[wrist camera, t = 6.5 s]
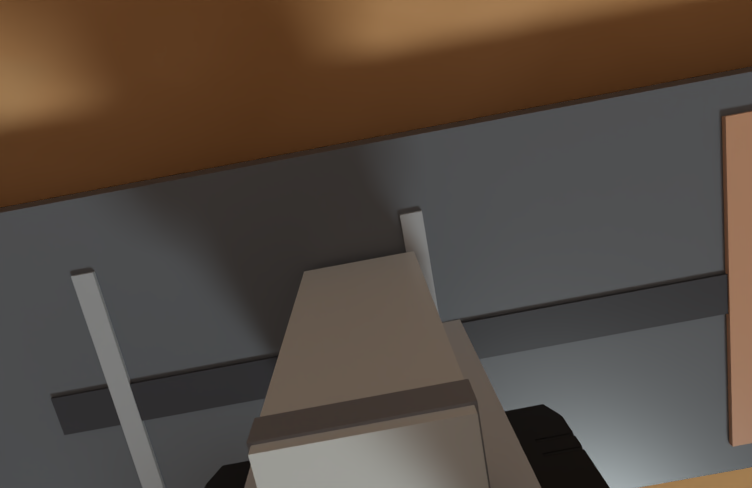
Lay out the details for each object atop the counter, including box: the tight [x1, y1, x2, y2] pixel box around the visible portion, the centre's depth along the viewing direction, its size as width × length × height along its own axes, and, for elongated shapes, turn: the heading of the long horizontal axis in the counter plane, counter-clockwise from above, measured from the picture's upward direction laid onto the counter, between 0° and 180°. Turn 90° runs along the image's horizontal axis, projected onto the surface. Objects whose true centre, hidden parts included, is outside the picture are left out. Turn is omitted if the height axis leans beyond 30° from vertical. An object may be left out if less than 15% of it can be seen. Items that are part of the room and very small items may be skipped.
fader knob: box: [246, 251, 491, 488], centre depth 12 cm, size 3×6×8 cm, turn 10°
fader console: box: [0, 67, 752, 488], centre depth 17 cm, size 30×12×2 cm, turn 100°
